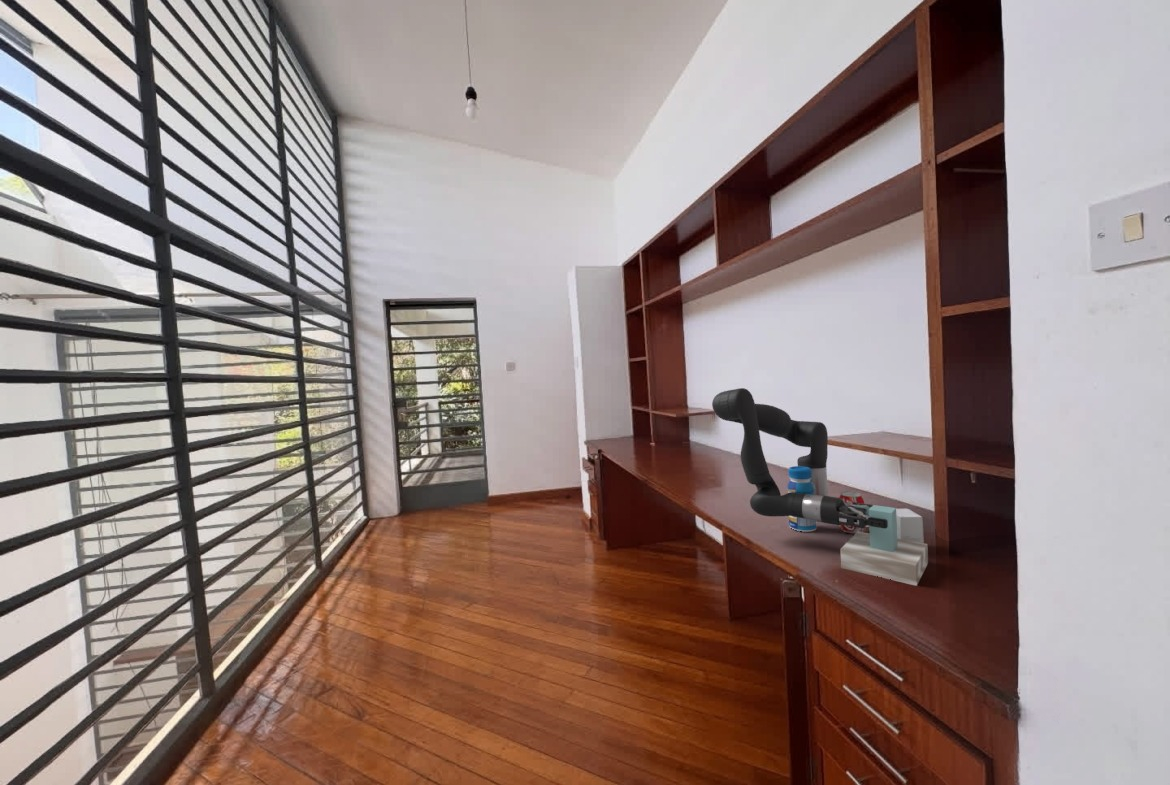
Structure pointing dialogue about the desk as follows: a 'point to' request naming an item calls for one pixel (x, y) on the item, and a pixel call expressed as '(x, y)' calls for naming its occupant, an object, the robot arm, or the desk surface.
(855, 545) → the beige slab
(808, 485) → the beverage bottle
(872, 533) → the teal block
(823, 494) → the robot arm
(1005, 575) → the desk surface
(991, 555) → the desk surface
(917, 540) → the small box
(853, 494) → the soda can
